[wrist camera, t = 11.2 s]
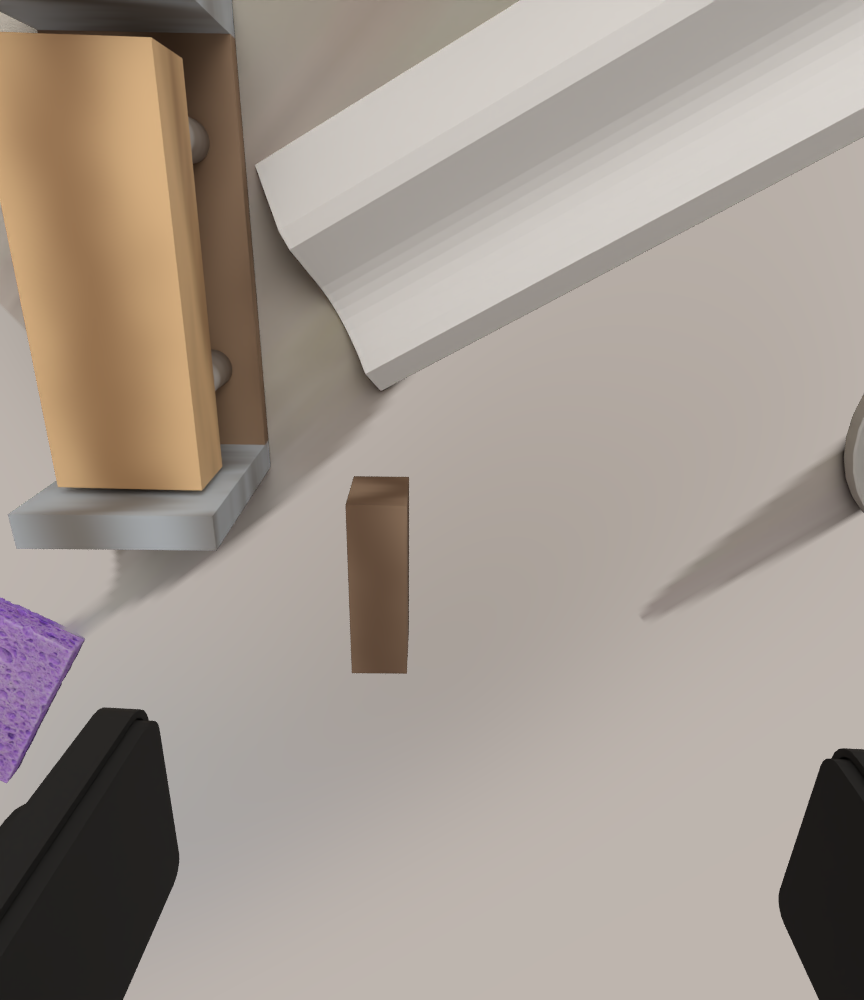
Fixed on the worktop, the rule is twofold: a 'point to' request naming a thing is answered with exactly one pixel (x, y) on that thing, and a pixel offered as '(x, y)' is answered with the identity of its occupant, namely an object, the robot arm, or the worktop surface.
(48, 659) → the sponges
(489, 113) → the crown molding
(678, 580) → the worktop surface
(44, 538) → the peg frame
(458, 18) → the worktop surface
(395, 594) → the block
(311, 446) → the worktop surface
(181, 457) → the shelf board
